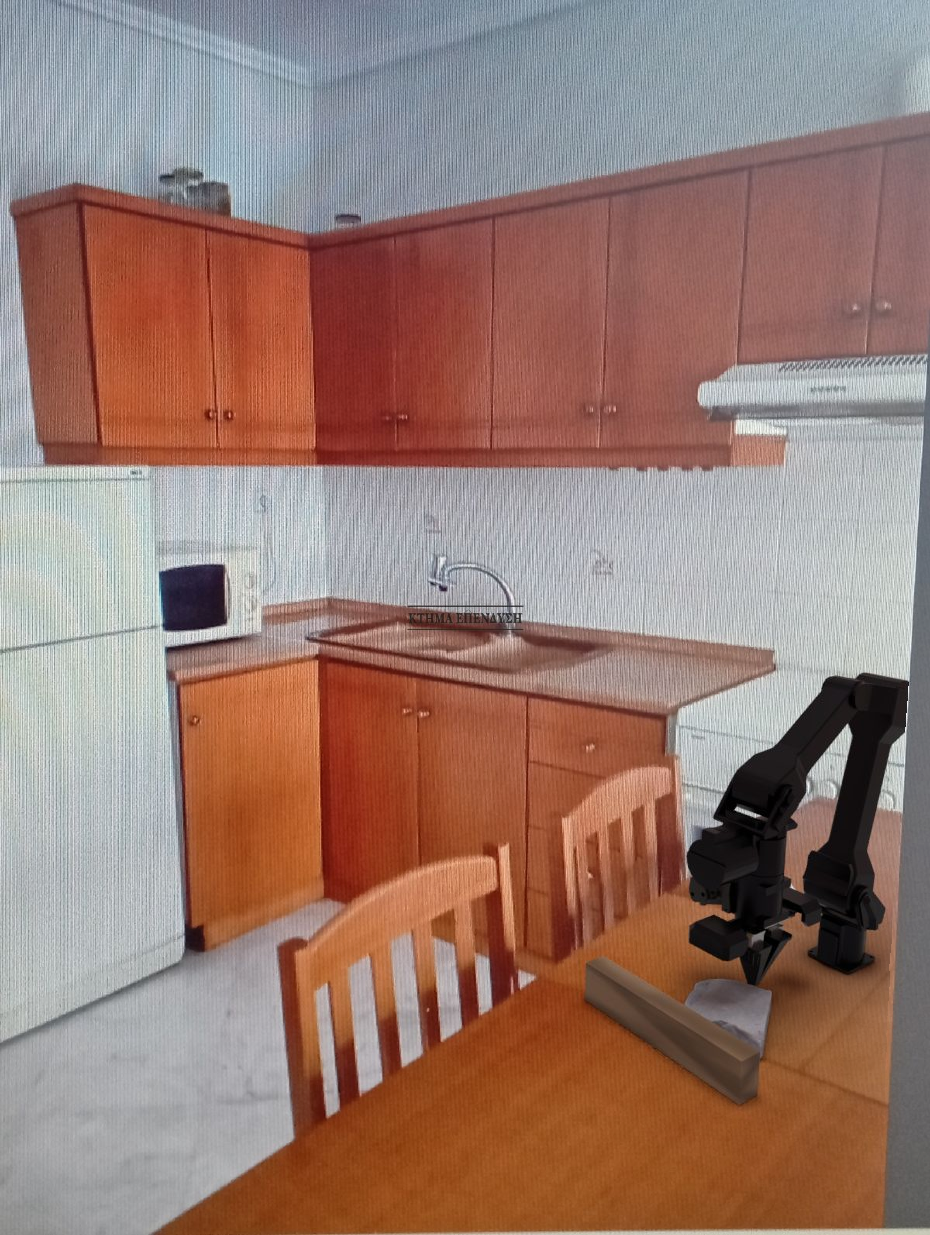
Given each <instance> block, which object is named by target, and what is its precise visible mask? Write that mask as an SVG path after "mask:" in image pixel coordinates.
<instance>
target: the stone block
mask: <svg viewBox="0 0 930 1235" xmlns="http://www.w3.org/2000/svg"><path fill="white" fill-rule="evenodd" d="M684 1005H685V1006H686V1007H688V1008H690V1009H691V1010H693V1011H694V1012H696V1013H698V1014H699V1015H701V1016H703V1017H704V1018H706V1019H708V1020H709V1021H711V1022H712V1023H714V1024H716V1025H717V1026H719V1027H721V1028H722V1029H724V1030H726V1031H727V1032H729V1033H730V1034H732V1035H734V1036H735V1037H737V1038H739V1039H740V1040H742V1041H744V1042H745V1043H747V1044H748V1045H750V1046H752V1047H753V1048H755V1049H757V1050H758V1051H760V1060H761V1059H762V1058H763V1057H764V1049H765V1043H766V1039H767V1033H768V1027H769V1022H770V1017H771V1016H770V1015H771V1009H772V991H771V990H770V989H764V988H762V987H758V986H753V985H749V984H747V982H744V981H738V980H735V979H730V978H729V979H728V978H716V979H713V978H708V979H706V980H701V981H699V982H696V983H694V988H693V990H691V991H690V993H689V995H688V996H687V998H686V1000H685V1003H684Z"/></svg>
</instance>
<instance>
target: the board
mask: <svg viewBox="0 0 930 1235" xmlns="http://www.w3.org/2000/svg"><path fill="white" fill-rule="evenodd" d="M584 980H585V983H584V985H585V986H584V989H585V990H584V1001H586V1002H587V1003H589V1004H590V1005H592V1006H593V1007H595V1008H596V1009H597V1010H599V1011H601V1012H602V1013H603V1014H605V1015H606V1016H607V1017H609V1018H611V1019H612V1020H614V1021H615V1022H617V1023H618V1024H620V1026H623V1027H624V1028H625V1029H627V1030H628V1031H629V1032H630V1033H633V1034H635V1035H636V1036H637V1037H638V1038H640V1039H641V1040H643V1041H644V1042H646V1043H647V1044H649V1045H651V1046H652V1047H653V1048H655V1049H656V1050H658V1052H661V1053H663V1055H665V1056H666V1057H667V1058H670V1059H671V1060H673V1061H674V1062H676V1064H678V1065H680V1066H681V1067H683V1068H684V1069H686V1070H687V1071H688V1072H690V1073H691V1074H692V1075H693V1076H696V1077H697V1078H699V1079H700V1080H702V1081H703V1082H705V1083H706V1084H707V1085H709V1086H710V1087H712V1088H713V1089H715V1090H716V1091H717V1092H719V1093H720V1094H722V1095H723V1096H725V1097H727V1099H729V1100H731V1101H732V1102H734V1103H735V1104H737V1105H738V1106H740V1105H743V1104H744V1103H745V1102H746V1103H747V1101H749V1100H751V1099H752V1098H754V1097H756V1096H758V1094H759V1091H758V1090H759V1079H760V1078H759V1077H760V1061H761V1059H760V1051H758V1050H757V1049H755V1048H753V1047H752V1046H750V1045H748V1044H747V1043H745V1042H744V1041H742V1040H740V1039H739V1038H737V1037H735V1036H734V1035H732V1034H730V1033H729V1032H727V1031H726V1030H724V1029H722V1028H721V1027H719V1026H717V1025H716V1024H714V1023H712V1022H711V1021H709V1020H708V1019H706V1018H704V1017H703V1016H701V1015H699V1014H698V1013H696V1012H694V1011H693V1010H691V1009H690V1008H688V1007H686V1006H685V1004H683V1003H681V1002H680V1001H678V1000H676V999H675V998H673V997H671V996H670V995H668V994H667V993H665V992H663V991H662V990H661V989H658V988H657V987H655V986H653V985H652V984H650V983H649V982H647V981H645V980H644V979H642V978H641V977H639V976H637V975H635V974H634V973H632V972H630V971H629V970H628V969H626V968H624V967H622V965H619V964H618V963H616V962H614V961H613V960H611V959H609V958H608V957H606V956H605V955H603V956H600V957H597V958H595V959H592V960H589V961H587V962H585V978H584Z"/></svg>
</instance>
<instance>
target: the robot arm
mask: <svg viewBox="0 0 930 1235" xmlns="http://www.w3.org/2000/svg"><path fill="white" fill-rule="evenodd" d="M909 682H910V680H907V679H901V678H896V677H890V676H887V675H880V674H875V673H871V672H861V673H859V674H858V675H857V676H856V677H855V678H854V677H846V676H842V675H841V676H840V675H831V676H827V677H826V678H825V679H824V681H823V683H822V685H821V688H820V689H821V690H820V692H818V693H817V696H815V697H814V699H813V700H812V701H811V703H809V704H808V706H807V707H806V708H805V709H804V711H803V712H802V713H801V714H800V715H799V717H797V719H796V720H795V721H794V723H793V724H792V725H791V726H790V727H789V728H788V730H787V731H786V732H785V733H784V734H783V736H782V737H781V738H780V739H779V741H777V743H776V744H774V745H773V746H772V747H769V748H768V749H765V750H762V751H759V752H757V753H755V754H753V755H751V757H750V758H748V759H747V760H746V761H745V762H744V763H743V764H741V765H740V766H739V768H737V770H736V771H735V772H734V774H733V775H732V778H731V780H730V781H729V783H728V785H727V787H726V789H725V791H724V794H723V796H722V798H721V799H720V801H719V804H718V806H717V807H716V809H715V811H714V814H713V815H712V818H713V820H714V821H717V822H719V823H722V824H720V825H717V826H713V827H706V828H703V829H702V830H701V836H700V839H696V840H695V841H693V842H692V843H691V844H690V846H689V848H688V851H687V852H686V864H687V867H688V870H689V873H690V875H691V877H690V879H689V884H688V885H689V886H688V893H689V897H690V900H692V902H693V903H699V905H700V906H704V907H706V906H707V905H713V906H715V905H716V906H717V905H718V906H721V912H723V913H726V914H732V915H734V918H732V919H729V920H726V919H725V918H722V917H720V916H718V915H716V914H711V915H709V916H706V917H703V918H701V919H698V920H696V921H694V922H692V923H691V924H689V925H688V926H689V927H688V928H689V929H688V944H690V945H692V946H694V947H696V948H698V949H699V950H701V951H703V952H705V953H707V954H709V955H711V956H712V957H714V958H716V959H717V960H720V961H722V962H731V961H733V960H736V959H738V958H739V962H740V965H741V968H742V971H743V974H744V977H745V980H746V984H749V985H753V986H756V987H758V986H759V985H760V984H761V982H762V981H763V979H764V977H765V976H766V974H767V973H768V972H769V970H770V968H771V966H772V965H773V964H774V962H775V960H776V959H777V958H778V956H779V955H780V953H781V952H782V950H784V948H785V946H786V945H787V944H788V942H789V941H792V938H793V934H792V933H790V932H788V931H787V930H784V925H783V922H785V921H787V920H789V919H792V918H794V917H796V914H801V915H800V916H801V917H800V920H801V923H802V925H804V926H806V927H808V928H810V927H811V926H813V925H816V924H819V926H818V930H817V945H816V946H814V947H812V948H810V949H808V950H807V953H806V954H807V955H808V956H810V957H812V958H813V959H815V960H818V961H820V962H821V963H824V964H826V965H828V966H831V967H832V968H834V969H836V970H838V971H840V972H843V973H845V974H852V973H854V972H856V971H858V970H860V969H862V968H864V967H866V966H869V965H871V963H874V962H875V961H876V956H874V955H872V954H870V953H868V952H866V944H867V931H879V926H880V925H881V924H882V923H883V920H884V919H885V914H886V913H885V912H886V907H885V905H884V904H883V902H882V901H881V900H880V898H879V897H878V896H877V895H876V893H875V891H874V887H875V886H874V885H875V879H876V878H875V877H876V874H875V870H874V867H873V864H872V861H871V858H870V855H869V853H868V848H869V845H870V839H871V835H872V830H873V827H874V822H875V818H876V813H877V810H878V809H877V808H878V805H879V800H880V796H881V792H882V789H883V788H882V787H883V784H884V779H885V774H886V769H887V765H888V762H889V757H890V752H891V748H892V746H893V745H894V744H895V743H896V742H897V741H898V740H899V739H900V738H901V737H902V736H903V735H904V734H905V733H906V732H905V727H906V713H907V701H908V686H909ZM847 725H848V728H849V731H850V733H851V734H850V735H851V739H850V744H849V749H848V753H847V756H846V761H845V762H846V763H845V766H844V771H843V773H842V774H843V776H842V780H841V782H840V783H841V784H840V788H839V792H838V796H837V802H836V806H835V809H834V815H833V819H832V823H831V828H830V831H829V832H830V833H829V835H828V839H827V841H826V842H825V843H824V844H823V845H822V846H820V848H818V850H814V849H813V850H810V852H809V853H808V855H807V862H806V867H805V870H804V873H803V875H802V890H803V892H801V891H799V890H797V889H796V888H794V889H792V888H790V887H791V884H792V878H790V877H788V876H785V871H786V870H785V869H786V868H785V867H786V856H787V855H786V853H787V840H788V839H787V838H788V836H787V835H788V832H789V831H792V830H795V829H797V828H798V826H799V824H798V823H797V821H795V820H794V819H793V818H792V817H793V815H794V814H795V813H796V811H797V809H798V808H799V806H800V804H801V802H802V800H803V799H804V797H805V796H806V794H807V791H808V790H807V781H808V780H807V776H809V774H810V771H811V770H812V769H813V768H814V766H815V765H816V764H817V763H818V761H819V760H820V759H821V757H823V755H824V754H825V753H826V751H827V750H828V749H829V747H830V746H832V744H833V743H834V741H835V740H836V739H837V737H839V735H840V734H841V732H842V731H844V729H845V728H846V726H847ZM737 808H739V809H741V810H744V811H746V812H750V813H751V814H756V815H757V817H755V816H752V815H748V814H746V813H743V812H740V811H739V810H736V809H737Z"/></svg>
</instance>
